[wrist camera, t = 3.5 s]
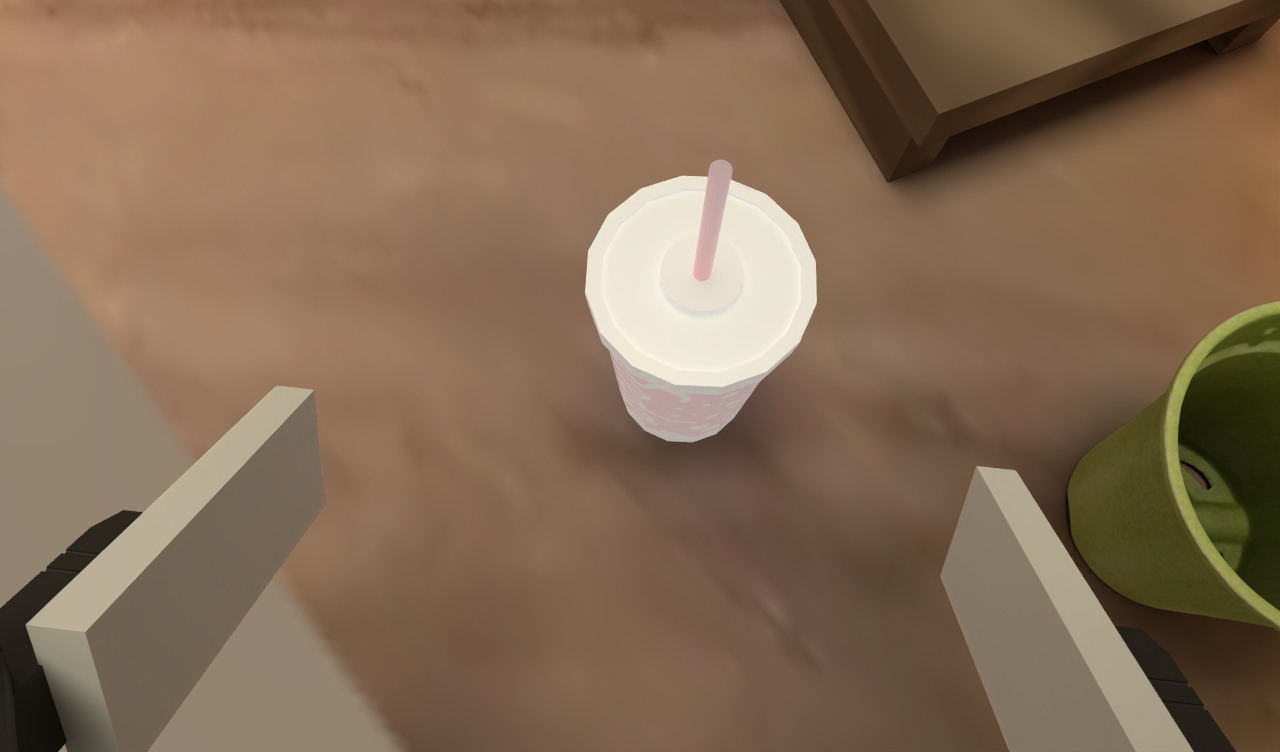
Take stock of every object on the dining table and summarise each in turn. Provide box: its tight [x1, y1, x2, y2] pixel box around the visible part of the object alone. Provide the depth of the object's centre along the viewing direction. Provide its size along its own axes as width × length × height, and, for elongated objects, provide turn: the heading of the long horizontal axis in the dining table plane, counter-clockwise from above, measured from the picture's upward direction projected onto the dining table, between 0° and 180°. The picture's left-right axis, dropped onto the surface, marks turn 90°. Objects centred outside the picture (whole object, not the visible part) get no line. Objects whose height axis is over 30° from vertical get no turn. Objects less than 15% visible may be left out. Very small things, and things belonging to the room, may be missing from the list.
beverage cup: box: [585, 160, 817, 442], centre depth 23 cm, size 6×6×14 cm
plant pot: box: [1067, 301, 1280, 632], centre depth 24 cm, size 9×9×9 cm
